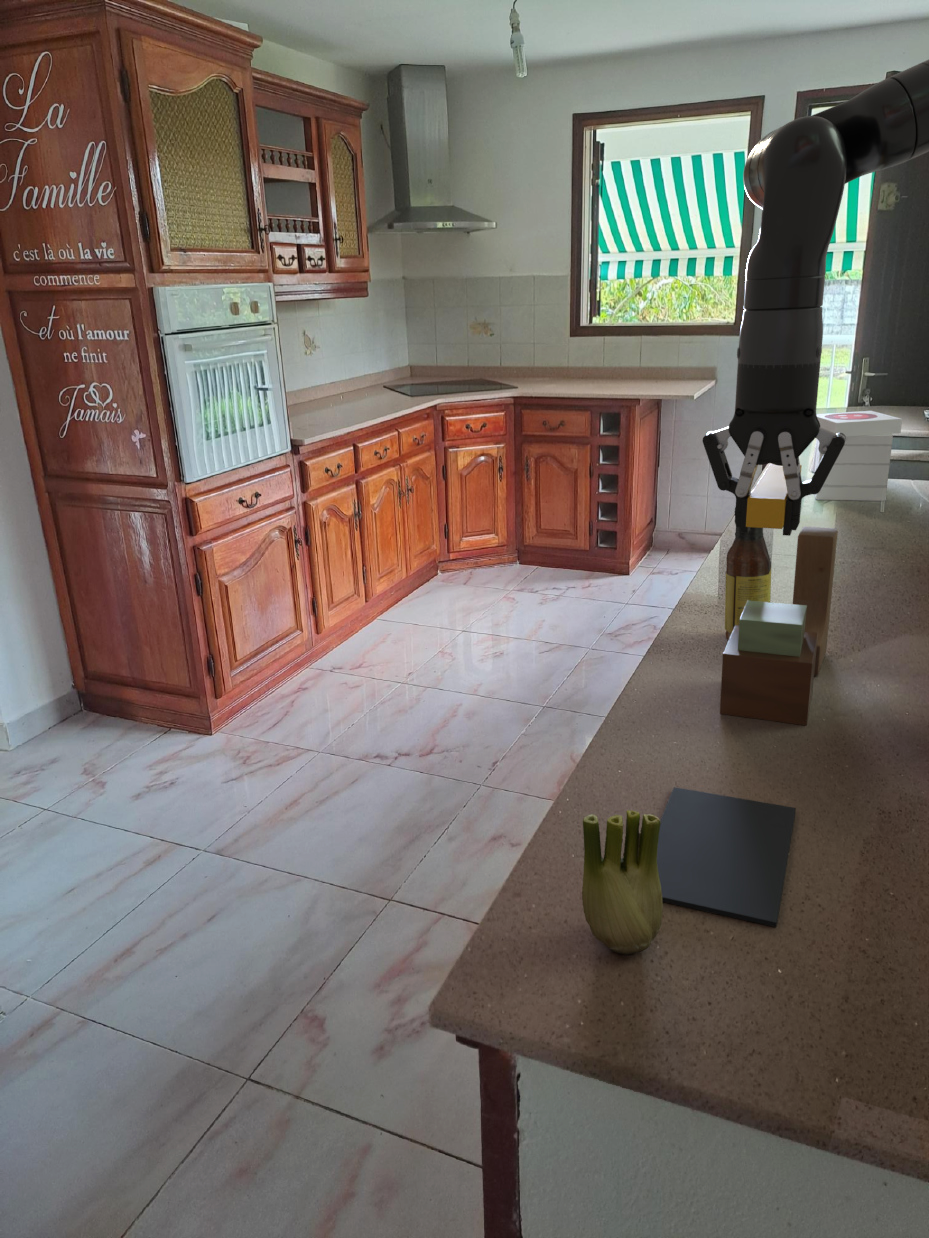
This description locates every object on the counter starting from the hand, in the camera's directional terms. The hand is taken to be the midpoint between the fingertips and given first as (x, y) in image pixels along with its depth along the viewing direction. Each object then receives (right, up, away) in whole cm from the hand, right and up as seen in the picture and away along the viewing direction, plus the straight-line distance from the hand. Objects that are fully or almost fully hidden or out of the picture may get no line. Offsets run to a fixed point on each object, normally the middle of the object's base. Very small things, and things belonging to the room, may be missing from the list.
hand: (765, 531), depth 90 cm
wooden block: (+16, -15, +30) cm, 37 cm away
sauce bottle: (+10, -12, +39) cm, 42 cm away
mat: (-7, -31, -8) cm, 33 cm away
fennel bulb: (-18, -35, -18) cm, 44 cm away
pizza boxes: (+62, +23, +125) cm, 141 cm away
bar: (+3, +3, +5) cm, 7 cm away
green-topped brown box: (+7, -19, +20) cm, 29 cm away
